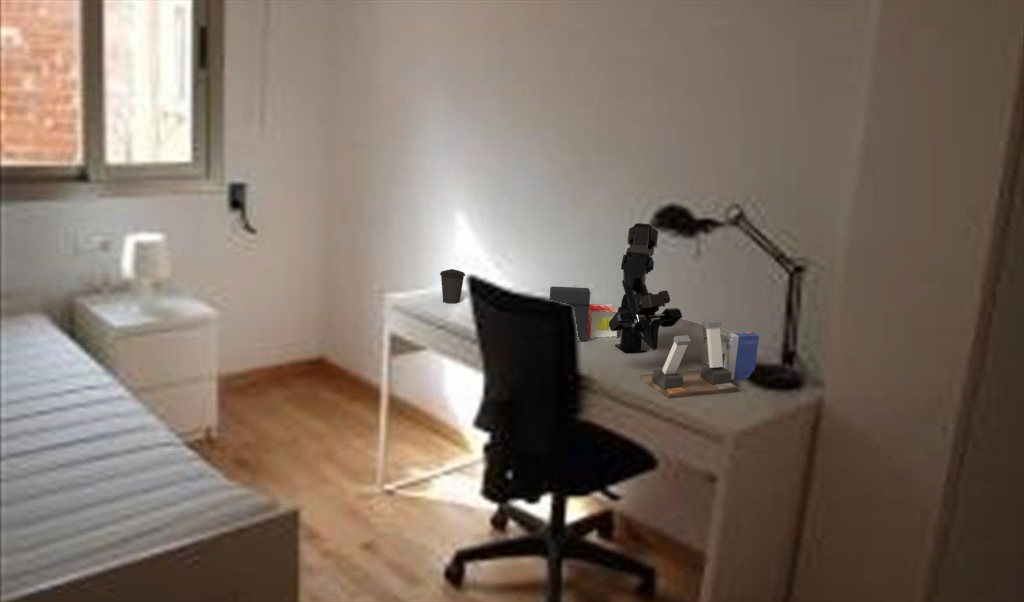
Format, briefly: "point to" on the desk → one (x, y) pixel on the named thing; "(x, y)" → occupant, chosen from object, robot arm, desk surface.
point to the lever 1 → (676, 354)
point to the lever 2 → (714, 344)
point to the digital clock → (704, 350)
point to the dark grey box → (575, 305)
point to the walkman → (741, 354)
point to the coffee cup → (452, 285)
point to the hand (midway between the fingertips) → (655, 349)
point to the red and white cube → (600, 320)
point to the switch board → (691, 382)
